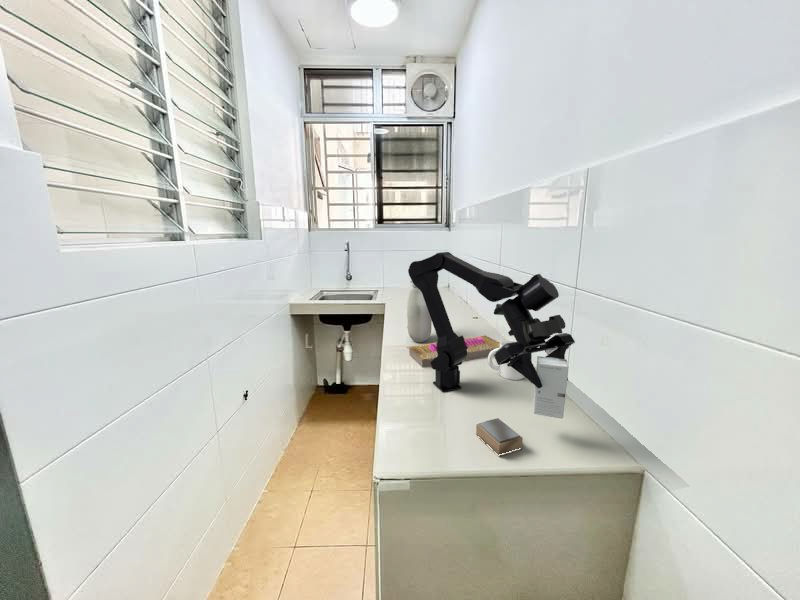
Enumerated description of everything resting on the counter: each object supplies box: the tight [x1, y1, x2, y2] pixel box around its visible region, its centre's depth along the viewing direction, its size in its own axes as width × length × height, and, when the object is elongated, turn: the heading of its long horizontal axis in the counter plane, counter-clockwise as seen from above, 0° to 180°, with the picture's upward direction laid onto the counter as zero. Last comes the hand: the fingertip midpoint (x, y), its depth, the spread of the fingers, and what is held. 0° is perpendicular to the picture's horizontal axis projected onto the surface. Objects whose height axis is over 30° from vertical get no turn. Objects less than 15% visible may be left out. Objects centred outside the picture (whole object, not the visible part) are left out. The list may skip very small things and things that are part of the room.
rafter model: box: [406, 335, 500, 368], centre depth 123 cm, size 35×14×6 cm, turn 109°
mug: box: [487, 339, 525, 381], centre depth 105 cm, size 12×8×10 cm
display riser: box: [475, 417, 524, 455], centre depth 72 cm, size 6×8×3 cm
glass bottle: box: [406, 279, 433, 343], centre depth 137 cm, size 10×10×28 cm
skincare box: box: [532, 355, 569, 419], centre depth 72 cm, size 6×4×12 cm
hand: (553, 384), depth 71 cm, fingers closed on skincare box, 7 cm apart
